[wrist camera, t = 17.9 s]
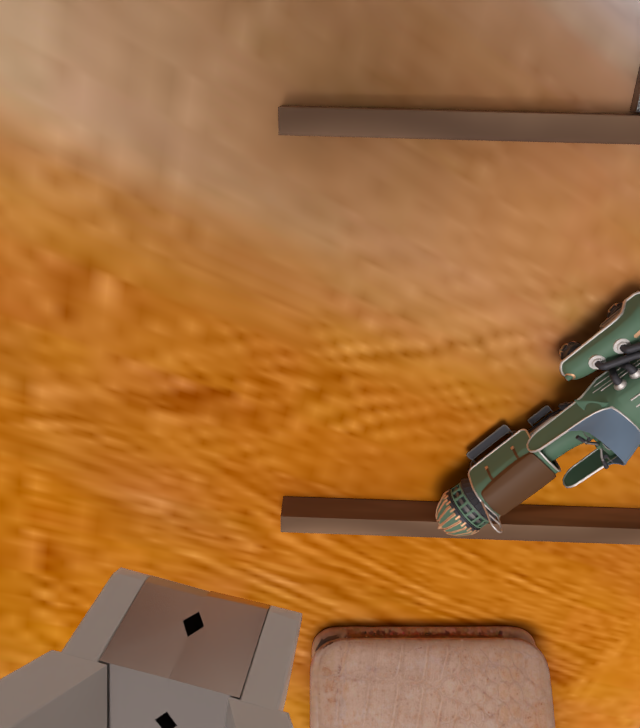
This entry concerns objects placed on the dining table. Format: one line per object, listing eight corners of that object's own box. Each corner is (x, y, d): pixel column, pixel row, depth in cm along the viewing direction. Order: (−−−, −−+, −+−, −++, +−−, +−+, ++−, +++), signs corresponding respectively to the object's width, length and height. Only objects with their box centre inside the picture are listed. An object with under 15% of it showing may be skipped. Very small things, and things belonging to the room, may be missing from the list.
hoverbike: (748, 337, 43) (837, 392, 35) (470, 535, 51) (493, 614, 43) (673, 241, 40) (751, 279, 32) (391, 466, 48) (401, 537, 40)
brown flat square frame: (282, 105, 37) (277, 107, 34) (824, 119, 37) (863, 122, 34) (283, 511, 50) (280, 536, 47) (685, 525, 49) (705, 551, 47)
